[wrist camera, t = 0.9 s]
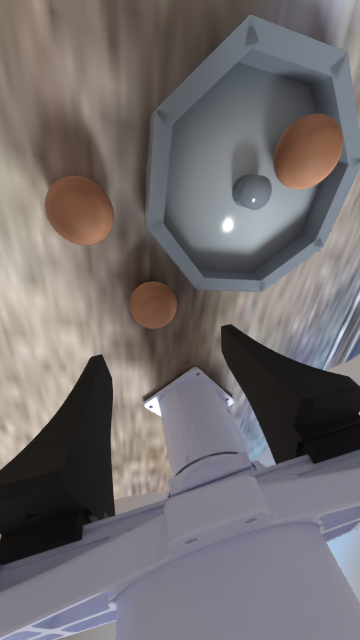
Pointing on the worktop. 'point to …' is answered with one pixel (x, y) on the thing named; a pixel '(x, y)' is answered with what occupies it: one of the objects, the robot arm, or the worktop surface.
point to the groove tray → (247, 158)
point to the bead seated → (308, 151)
